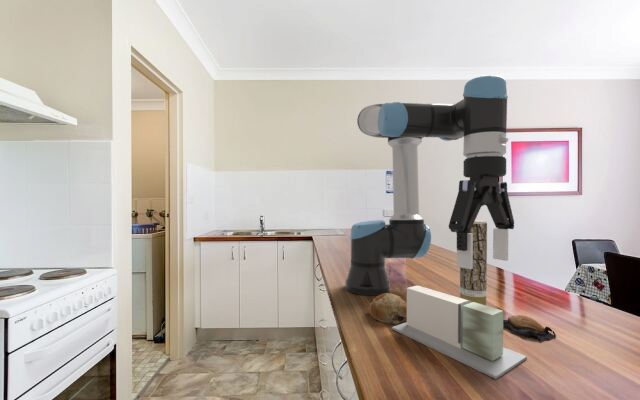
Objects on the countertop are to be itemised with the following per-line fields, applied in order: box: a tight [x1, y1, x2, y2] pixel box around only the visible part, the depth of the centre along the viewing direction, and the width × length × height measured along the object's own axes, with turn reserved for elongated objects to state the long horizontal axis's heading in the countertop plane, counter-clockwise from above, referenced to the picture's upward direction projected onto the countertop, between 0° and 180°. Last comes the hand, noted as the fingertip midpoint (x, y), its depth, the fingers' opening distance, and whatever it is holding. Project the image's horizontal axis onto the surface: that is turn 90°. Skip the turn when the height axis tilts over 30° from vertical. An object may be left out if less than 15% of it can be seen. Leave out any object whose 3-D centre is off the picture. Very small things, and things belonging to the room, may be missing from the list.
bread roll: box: [368, 292, 407, 325], centre depth 80 cm, size 10×10×8 cm
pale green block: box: [462, 302, 504, 361], centre depth 61 cm, size 6×4×9 cm, turn 34°
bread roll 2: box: [503, 314, 557, 343], centre depth 72 cm, size 11×8×4 cm
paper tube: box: [459, 219, 488, 306], centre depth 87 cm, size 7×7×25 cm
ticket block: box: [391, 285, 528, 380], centre depth 66 cm, size 24×12×10 cm, turn 34°
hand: (483, 263), depth 61 cm, fingers open, 13 cm apart
